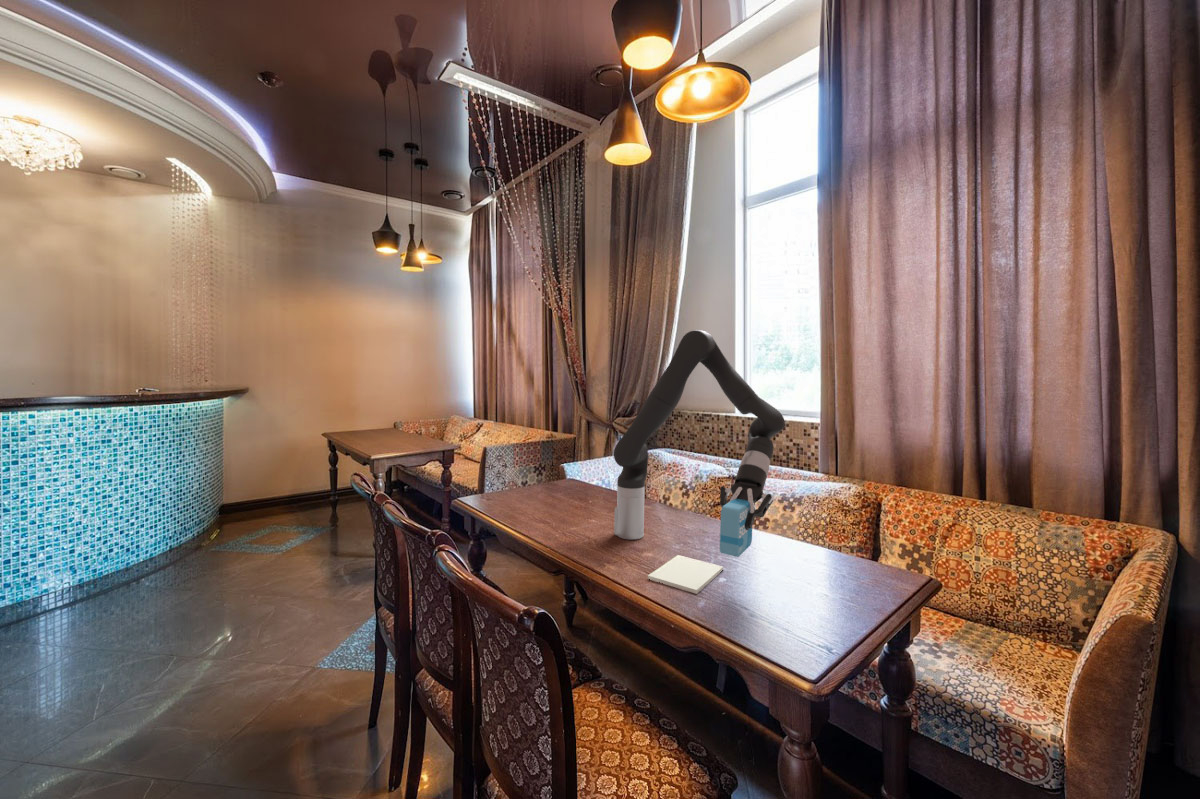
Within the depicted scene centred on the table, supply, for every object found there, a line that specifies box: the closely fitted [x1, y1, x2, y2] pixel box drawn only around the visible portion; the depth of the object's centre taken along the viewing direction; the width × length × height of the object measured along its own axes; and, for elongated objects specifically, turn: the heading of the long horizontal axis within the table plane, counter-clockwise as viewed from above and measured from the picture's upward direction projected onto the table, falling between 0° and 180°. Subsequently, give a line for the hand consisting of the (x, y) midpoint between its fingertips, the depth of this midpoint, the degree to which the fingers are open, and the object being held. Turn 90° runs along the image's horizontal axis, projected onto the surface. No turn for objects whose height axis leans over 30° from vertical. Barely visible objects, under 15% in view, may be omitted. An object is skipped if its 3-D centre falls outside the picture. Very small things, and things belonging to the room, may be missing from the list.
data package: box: [719, 499, 753, 558], centre depth 118 cm, size 12×4×12 cm, turn 145°
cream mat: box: [647, 554, 724, 595], centre depth 127 cm, size 14×18×1 cm
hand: (736, 525), depth 118 cm, fingers closed on data package, 4 cm apart
